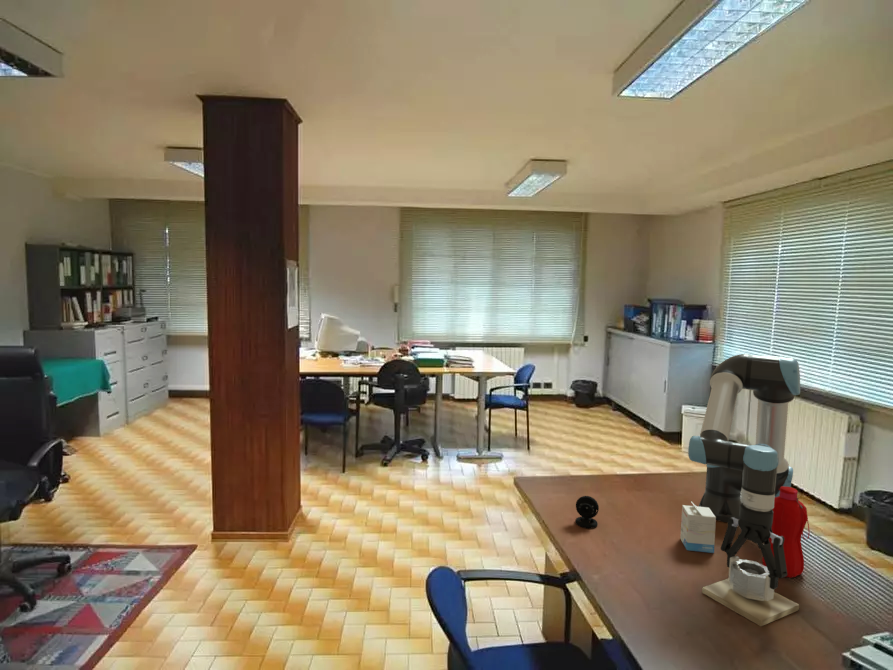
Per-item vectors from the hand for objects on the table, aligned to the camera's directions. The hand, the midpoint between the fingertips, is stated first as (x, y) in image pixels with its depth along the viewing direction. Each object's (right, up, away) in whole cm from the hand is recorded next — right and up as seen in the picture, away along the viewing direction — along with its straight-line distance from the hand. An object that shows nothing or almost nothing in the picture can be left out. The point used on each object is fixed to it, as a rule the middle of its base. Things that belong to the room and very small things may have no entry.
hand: (750, 589), depth 138 cm
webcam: (-31, +1, +45) cm, 55 cm away
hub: (0, 0, 0) cm, 0 cm away
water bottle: (+20, -3, +16) cm, 26 cm away
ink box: (+1, -1, +31) cm, 31 cm away
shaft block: (0, -3, 0) cm, 3 cm away
